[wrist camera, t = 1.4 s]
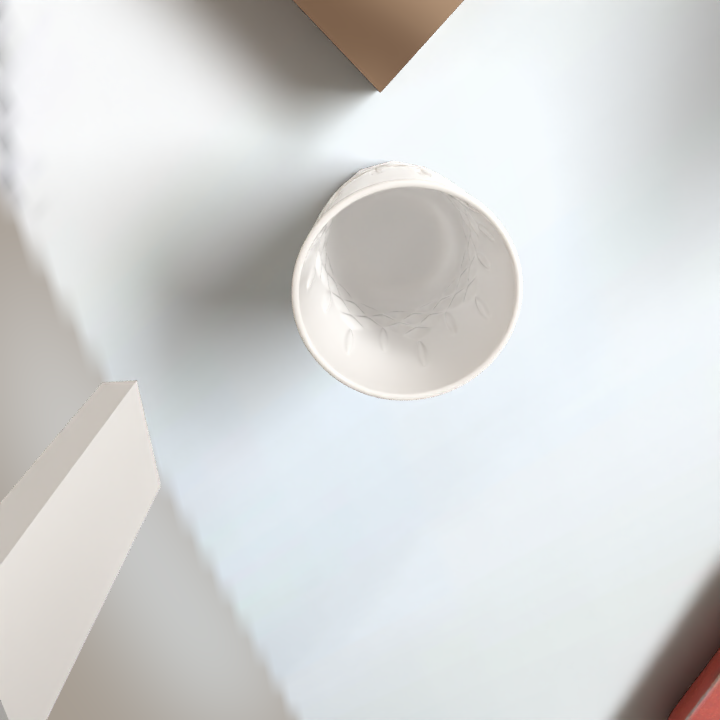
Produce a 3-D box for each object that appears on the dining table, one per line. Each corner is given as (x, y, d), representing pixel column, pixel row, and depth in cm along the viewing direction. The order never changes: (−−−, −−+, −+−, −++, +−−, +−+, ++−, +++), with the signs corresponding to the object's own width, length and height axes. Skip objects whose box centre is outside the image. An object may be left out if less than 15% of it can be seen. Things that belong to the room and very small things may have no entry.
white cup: (404, 109, 29) (424, 125, 20) (507, 241, 31) (568, 309, 22) (278, 224, 31) (242, 287, 22) (383, 339, 33) (392, 439, 24)
